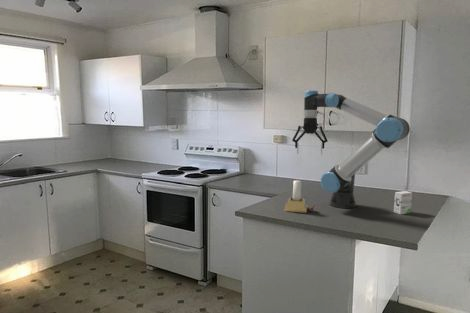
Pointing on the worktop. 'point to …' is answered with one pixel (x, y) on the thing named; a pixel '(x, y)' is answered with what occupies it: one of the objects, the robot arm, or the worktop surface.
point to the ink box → (402, 202)
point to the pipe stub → (296, 190)
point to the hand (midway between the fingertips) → (309, 153)
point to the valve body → (297, 206)
